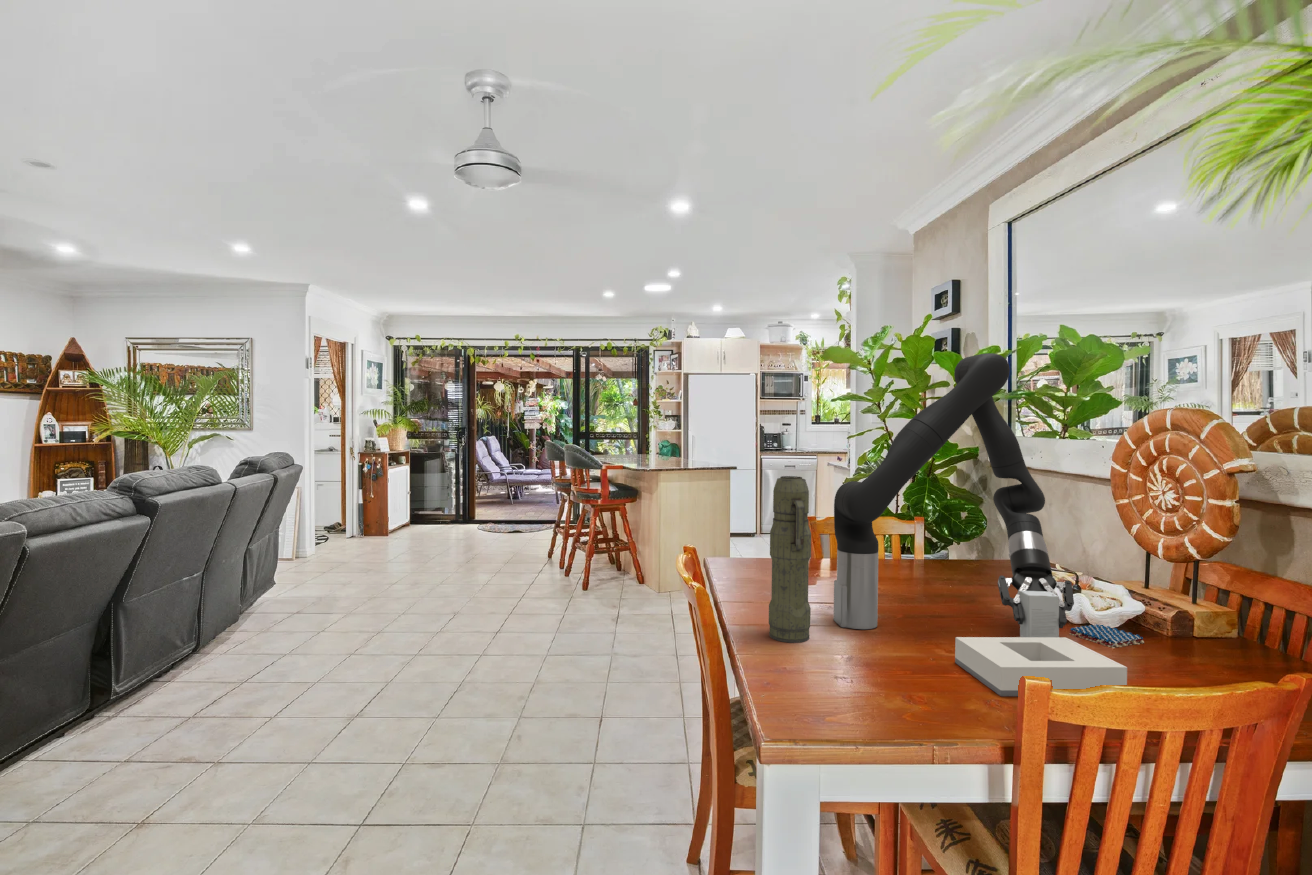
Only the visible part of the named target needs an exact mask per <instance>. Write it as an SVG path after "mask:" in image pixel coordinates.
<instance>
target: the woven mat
mask: <svg viewBox="0 0 1312 875" xmlns="http://www.w3.org/2000/svg"><path fill="white" fill-rule="evenodd" d="M1068 632H1069V635H1071V636H1074V637H1076V638H1080V639H1083V640H1085V641H1090V642H1092V643H1096V644H1098V645H1100V646H1101V645H1102V646H1105V647H1108V648H1111V649H1116V648H1123V647H1128V646H1132V645H1136V646H1137V645H1141V644H1145V641H1144V637H1143V636H1140V634H1133V632H1126V631H1125V630H1124V629H1122V630H1119V629H1118V628H1116V627H1114V628H1112V627H1111V626H1109V625H1107V626H1105V625H1104V624H1103V625H1100V624H1097V623H1096V624H1094V625H1093V624H1090V625H1084V626H1083V625H1081V626H1080V627H1078V626H1075V627H1071V628H1070V630H1069V631H1068Z"/></svg>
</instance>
